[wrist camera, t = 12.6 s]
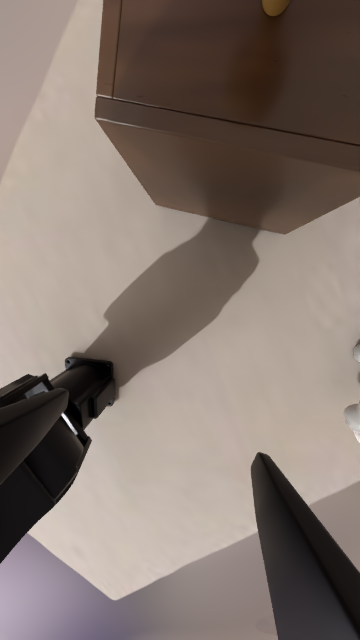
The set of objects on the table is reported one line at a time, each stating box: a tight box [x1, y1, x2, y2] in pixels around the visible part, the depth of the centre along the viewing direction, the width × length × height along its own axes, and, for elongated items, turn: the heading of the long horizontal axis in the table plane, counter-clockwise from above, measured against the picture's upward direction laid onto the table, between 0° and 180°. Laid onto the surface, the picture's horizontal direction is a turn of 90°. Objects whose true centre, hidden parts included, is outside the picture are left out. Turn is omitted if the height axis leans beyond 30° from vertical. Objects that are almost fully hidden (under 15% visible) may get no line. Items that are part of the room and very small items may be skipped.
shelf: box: [95, 0, 360, 234], centre depth 9 cm, size 14×13×7 cm
